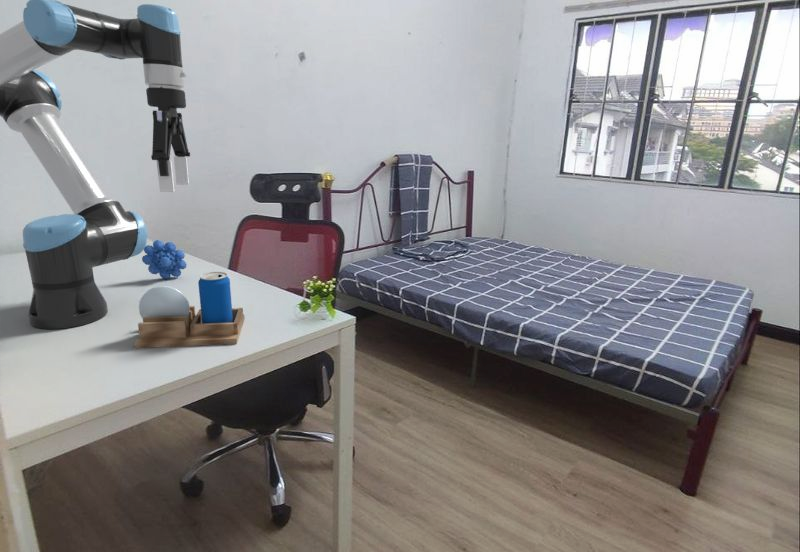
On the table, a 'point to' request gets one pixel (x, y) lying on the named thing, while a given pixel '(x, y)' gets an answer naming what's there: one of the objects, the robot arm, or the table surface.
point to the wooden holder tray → (188, 330)
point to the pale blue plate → (163, 303)
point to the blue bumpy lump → (164, 259)
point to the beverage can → (215, 298)
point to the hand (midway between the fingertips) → (175, 188)
